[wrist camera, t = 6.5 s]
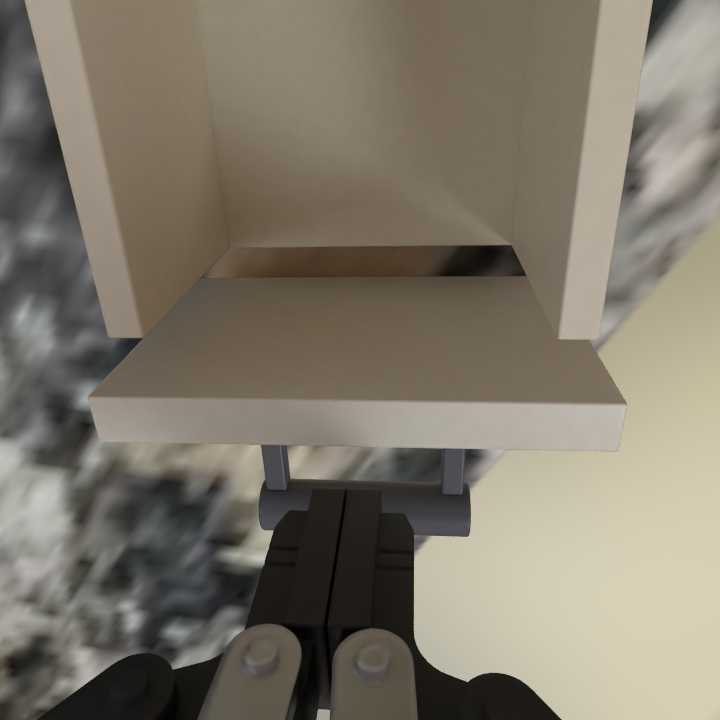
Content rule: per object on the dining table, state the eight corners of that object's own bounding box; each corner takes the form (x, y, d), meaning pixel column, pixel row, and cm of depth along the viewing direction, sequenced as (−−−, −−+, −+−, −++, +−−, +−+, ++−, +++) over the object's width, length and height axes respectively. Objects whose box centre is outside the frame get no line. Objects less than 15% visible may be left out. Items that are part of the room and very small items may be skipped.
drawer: (532, 437, 22) (587, 617, 15) (225, 431, 23) (142, 597, 16) (611, -253, 13) (820, -578, 6) (120, -212, 14) (-155, -454, 7)
